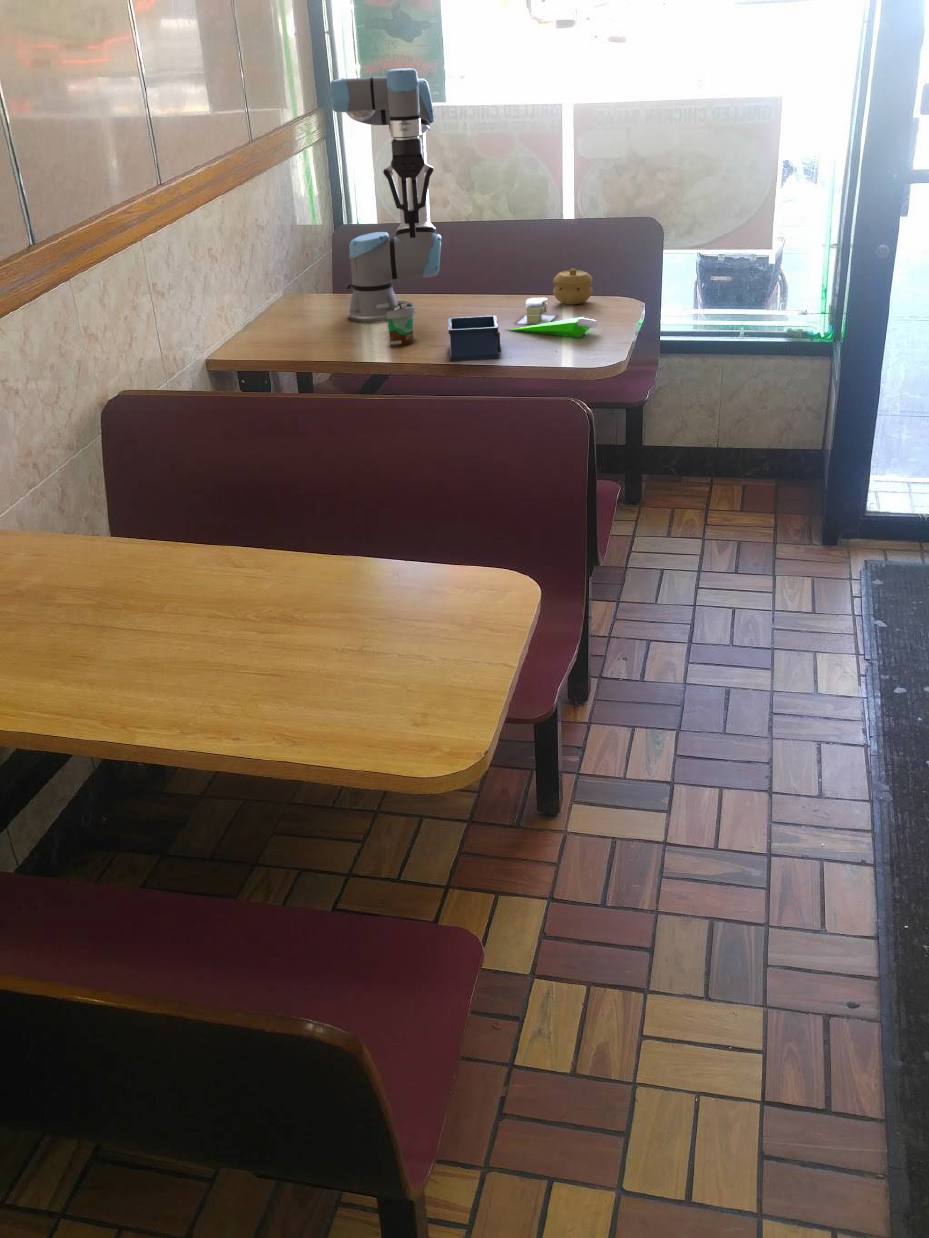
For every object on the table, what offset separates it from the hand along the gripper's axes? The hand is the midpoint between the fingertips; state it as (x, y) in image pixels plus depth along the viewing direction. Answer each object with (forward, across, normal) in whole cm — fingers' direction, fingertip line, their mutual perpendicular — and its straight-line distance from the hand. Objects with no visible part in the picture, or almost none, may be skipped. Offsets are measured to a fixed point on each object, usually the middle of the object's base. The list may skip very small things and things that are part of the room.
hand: (412, 236), depth 291 cm
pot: (+29, +45, +39) cm, 66 cm away
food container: (+29, -4, +4) cm, 29 cm away
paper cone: (+29, +36, +3) cm, 46 cm away
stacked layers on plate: (+29, +33, +21) cm, 48 cm away
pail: (+24, +8, -10) cm, 28 cm away
